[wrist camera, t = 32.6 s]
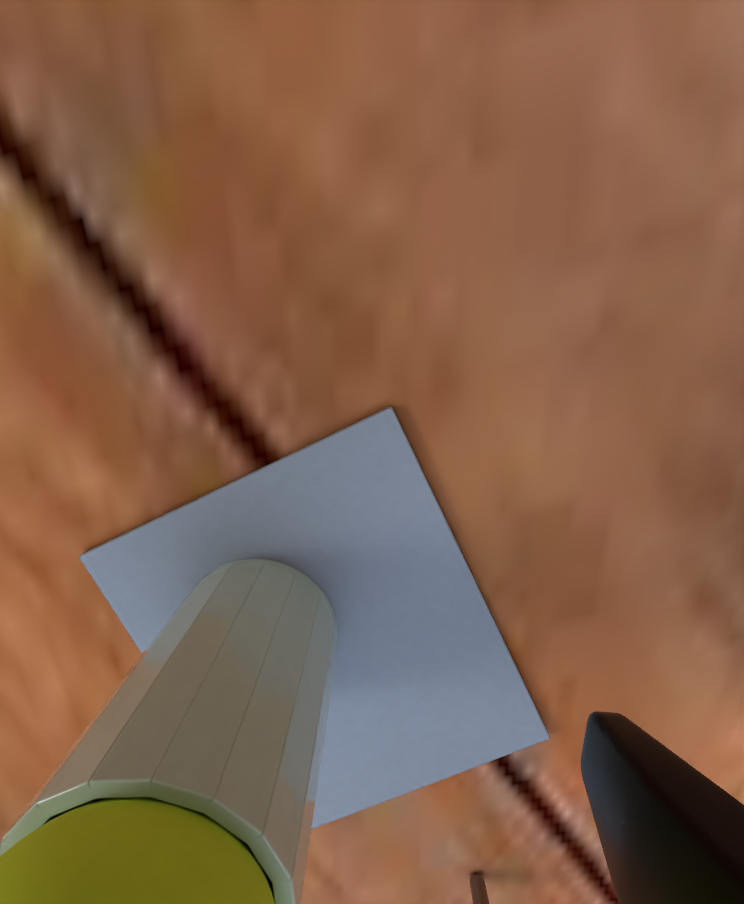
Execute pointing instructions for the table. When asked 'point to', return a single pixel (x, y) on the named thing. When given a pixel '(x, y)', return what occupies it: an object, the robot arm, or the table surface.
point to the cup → (218, 718)
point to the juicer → (478, 890)
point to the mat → (351, 607)
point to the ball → (132, 859)
